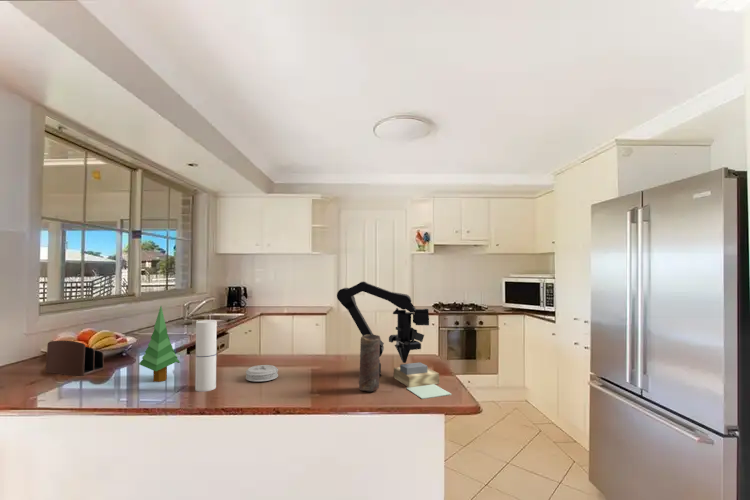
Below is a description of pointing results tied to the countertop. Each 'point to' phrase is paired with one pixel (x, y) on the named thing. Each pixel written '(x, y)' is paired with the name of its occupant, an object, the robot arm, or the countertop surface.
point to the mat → (428, 391)
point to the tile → (413, 368)
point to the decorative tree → (159, 351)
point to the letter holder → (73, 358)
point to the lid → (261, 373)
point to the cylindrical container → (205, 355)
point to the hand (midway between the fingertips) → (404, 362)
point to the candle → (369, 362)
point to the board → (417, 378)
